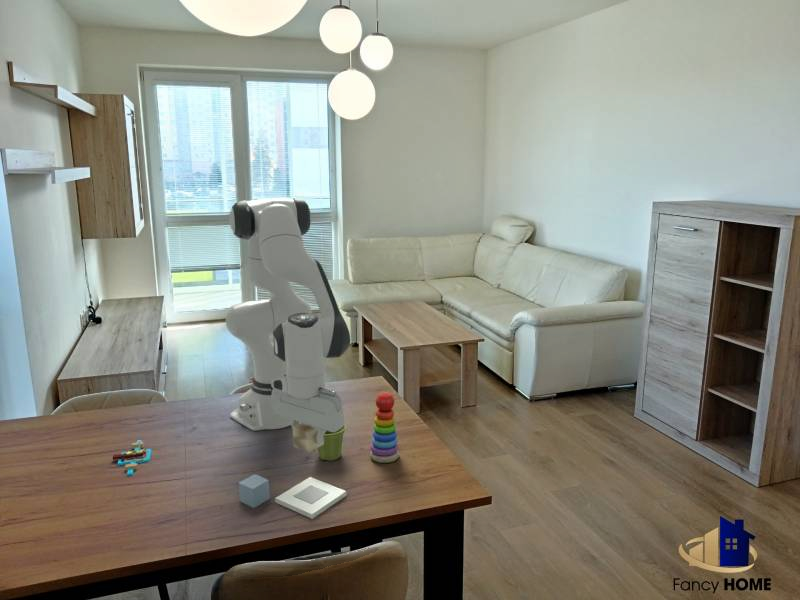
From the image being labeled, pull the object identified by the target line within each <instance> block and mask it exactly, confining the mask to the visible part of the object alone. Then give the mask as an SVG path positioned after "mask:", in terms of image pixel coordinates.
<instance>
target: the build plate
mask: <svg viewBox="0 0 800 600" xmlns="http://www.w3.org/2000/svg"><path fill="white" fill-rule="evenodd" d="M346 496H347V490H345V489H342V488H339V487H336V486H334V485H332V484H330V483H326V482H325V481H321V480H319V479H317V478H314V477H312V476H309V477H308V478H306V479H304V480H303V481H301V482H299V483H298V484H296V485H295V486H292V487H290V489H287V490H286V491H284V492H283V493H281V494H279V495H277V496H276V497H275V498H274V501H275V503H276V504H278V505H281V506H282V507H285V508H287V509H289V510H291V511H294V512H296V513H298V514H300V515H303V516H305V517H307V518H309V519H311V520H313V519H315V518H317V516H319V515H321V513H324V512H325V511H326V510H328V509H329V508H330V507H332V506H333V505H334V504H336V503H338V502H339V501H340V500H343V498H345V497H346Z"/></svg>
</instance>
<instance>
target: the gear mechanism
mask: <svg viewBox="0 0 800 600" xmlns="http://www.w3.org/2000/svg"><path fill="white" fill-rule="evenodd" d="M144 447H145V446H144V441H143V440H142V439H140V440H137V441H136V442H132V443H131V448H132V450H129V451H128V450H126V451H123V452H121V453H119V454H113V455H112V460H118V461H117V465H118V466H124V469H125V470H124V471H125V472H127V473H126V475H127V477H128V476H133V474H134V471H137V470H138V468H139V467H138V464H140V463H141V464H142V463H147V462H149V461H150V458H151V454H152V449H151V448H147V449H146V448H144ZM144 454H145V455H144ZM123 459H124V460H123Z"/></svg>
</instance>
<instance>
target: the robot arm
mask: <svg viewBox="0 0 800 600" xmlns="http://www.w3.org/2000/svg"><path fill="white" fill-rule="evenodd" d="M228 216H229V218H228V219H229V226H230V228H231V230H232V232H233V235H234V236H235V237H236V238H238V239H241V240H248V241H247V242H248V244H247V245H248V246H247V255H248V256H247V257H248V279H249V281H250V283H251V284H252V285H253V286H254V287H255V288H257V289H259V290H262V291H265V292H267V293H269V294H270V295H269V296H270V297H269V298H267V299H257V300H249V301H244V302H241V303H237V304H234V305H231V306H230V307H229V308H228V310H227V312H226V314H225V315H226V316H225V325H226V328H227V331H228V332H229V333H230V335H232V336H233V337H234V338H236V339H238V340H239V341H241V342H242V343H243V344H244V345H245V346H246V347H247V349H248V350H249V352H250V354H251V357H252V362H253V371H254V377H252V378H250V379H248V380H249V382H248V383H250V384H251V383H252V384H251V388H250V389H249V390H247V391H246V392H244V394H241V396H240V397H239V398H238V401H237V408H236V409H234V410H233V411H232V412H230V415H229V416H230V418H231V419H233V420H235V421H236V422H237V423H239V424H241V425H242V426H244V427H245V428H247V429H249V430H251V431H253V432H254V431H261V430H278V429H283V428H286V427H287V428H288V427H290V426H291V428H292V429H293V427H294V426H296V425H298V424H300V423H305V424H308V425H311V426H314V427H316V430H317V431H318V434H317V435H315V436H314V443H317V444H321V443H323V441H324V440H323V435H324V434H325V432H326V430H327V431H330V432H336V431H338V430H340V429H341V428H342V427H343V426H344V424H345V414H344V409H343V403H342V398H341V397H340V396H339V395H338V394H337V392H336V391H334V390H330V389H327V388H326V370H325V366H324V362H323V359H324V358H326V359H327V358H329V359H335V358H341V356H343V355H344V354H345V353H346V351H347V350H348V349H349V347H350V346H351V334H350V330H349V328H348V324H347V322H346V320H345V319H344V317H343V315H342V312H341V311H340V308H339V305H338V303H337V301H336V300H337V299H336V297H335V294H334V293H333V289H332V288H331V285H330V282H329V280H328V277H327V275H326V272H325V270H324V268H323V266H322V265H321V263H320V261H319V260H318V259H315V258H313V257H312V256H311V255H310V254H309V252H308V251H307V249H306V247H305V245H304V242H303V236H304V235H306V234H307V232H308V231H309V230H310V228H311V225H312V212H311V210H310V207H309V205H308V203H307V202H306V200H303V199H299V198H294V197H293V198H292V199H291V198H280V197H279V198H278V197H277V198H275V197H273V198H272V197H271V198H263V199H261V198H260V199H255V200H254V199H253V200H247V199H246V200H244V199H243V200H240V201H237V202H235V203H234V204H233V205H232V207H231V210H230V213H229V215H228ZM309 232H310V231H309ZM290 282H292V283H294V284H297V285H301V286H303V287H305V288H307V289H308V290H309V291H311V292H312V294H313V296H314V299H315V302H316V303H317V306H318V309H319V312H320V314H321V316H322V317H321V318H319V316H317V315H316V314H313V312H312V309H311V306H310V303H308V301H307V300H306V299H304V298H303V297H301V296H300V295H299V294H298V293H297V292H296V291H295V290H294V289H293V287H292V285H291V283H290ZM272 336H273V342H271V340H270V337H272Z"/></svg>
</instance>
